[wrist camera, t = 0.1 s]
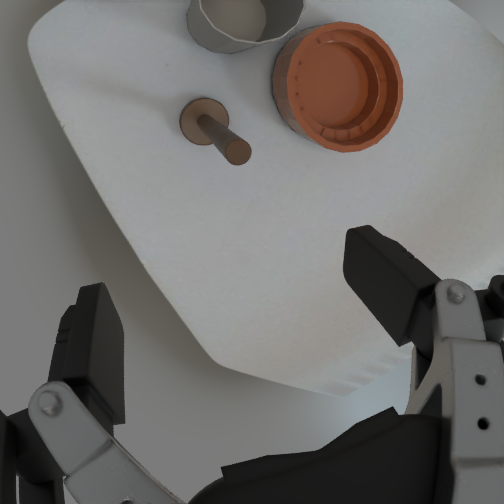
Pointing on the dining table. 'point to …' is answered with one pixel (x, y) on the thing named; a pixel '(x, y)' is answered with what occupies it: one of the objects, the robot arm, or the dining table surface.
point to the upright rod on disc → (213, 129)
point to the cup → (241, 22)
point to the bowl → (338, 86)
